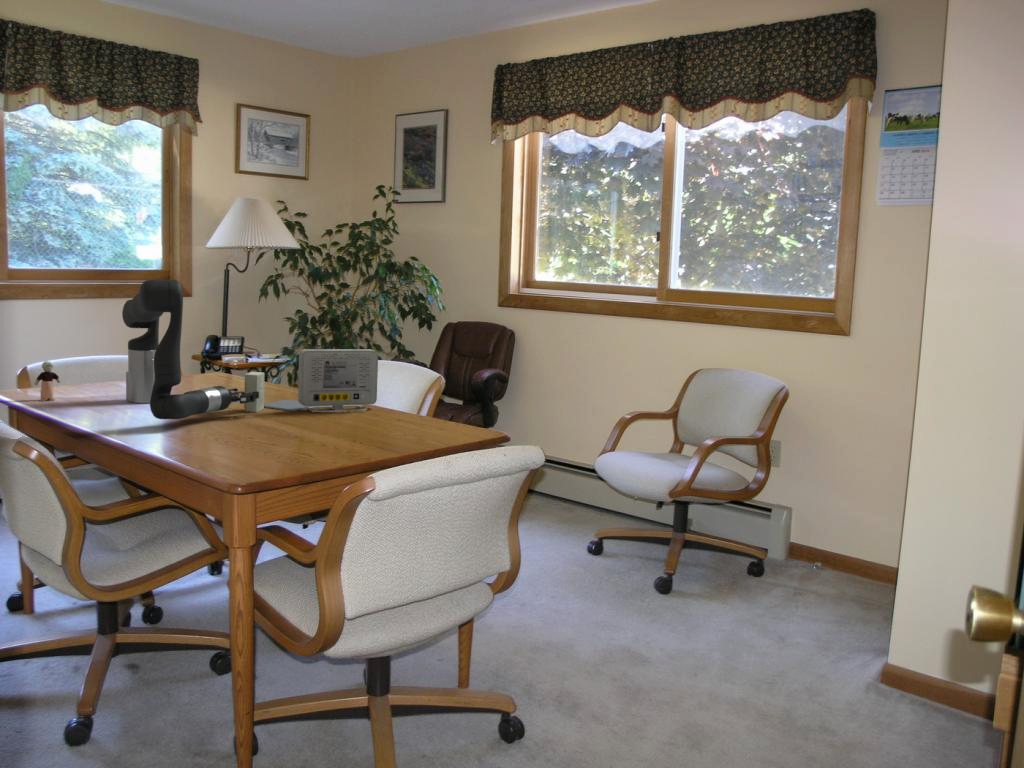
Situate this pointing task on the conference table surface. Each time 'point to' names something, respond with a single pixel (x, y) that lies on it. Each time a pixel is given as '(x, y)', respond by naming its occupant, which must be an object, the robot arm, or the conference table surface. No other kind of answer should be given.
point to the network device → (337, 378)
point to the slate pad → (286, 405)
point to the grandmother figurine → (47, 381)
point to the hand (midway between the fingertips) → (247, 393)
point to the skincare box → (252, 384)
